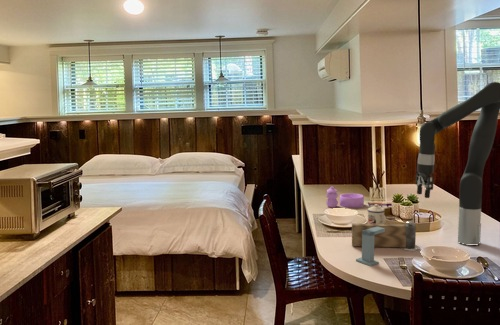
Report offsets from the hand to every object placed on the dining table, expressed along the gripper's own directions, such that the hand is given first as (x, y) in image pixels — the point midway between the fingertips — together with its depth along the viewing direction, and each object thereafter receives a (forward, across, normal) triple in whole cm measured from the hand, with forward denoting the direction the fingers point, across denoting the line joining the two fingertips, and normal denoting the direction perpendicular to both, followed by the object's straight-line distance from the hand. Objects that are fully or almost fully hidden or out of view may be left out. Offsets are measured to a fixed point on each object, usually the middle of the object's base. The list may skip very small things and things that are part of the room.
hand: (423, 195), depth 217 cm
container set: (+23, +73, +18) cm, 78 cm away
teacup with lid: (+22, +23, +13) cm, 34 cm away
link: (+22, -12, +22) cm, 33 cm away
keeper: (+23, -29, +33) cm, 49 cm away
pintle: (+22, -14, +11) cm, 28 cm away
